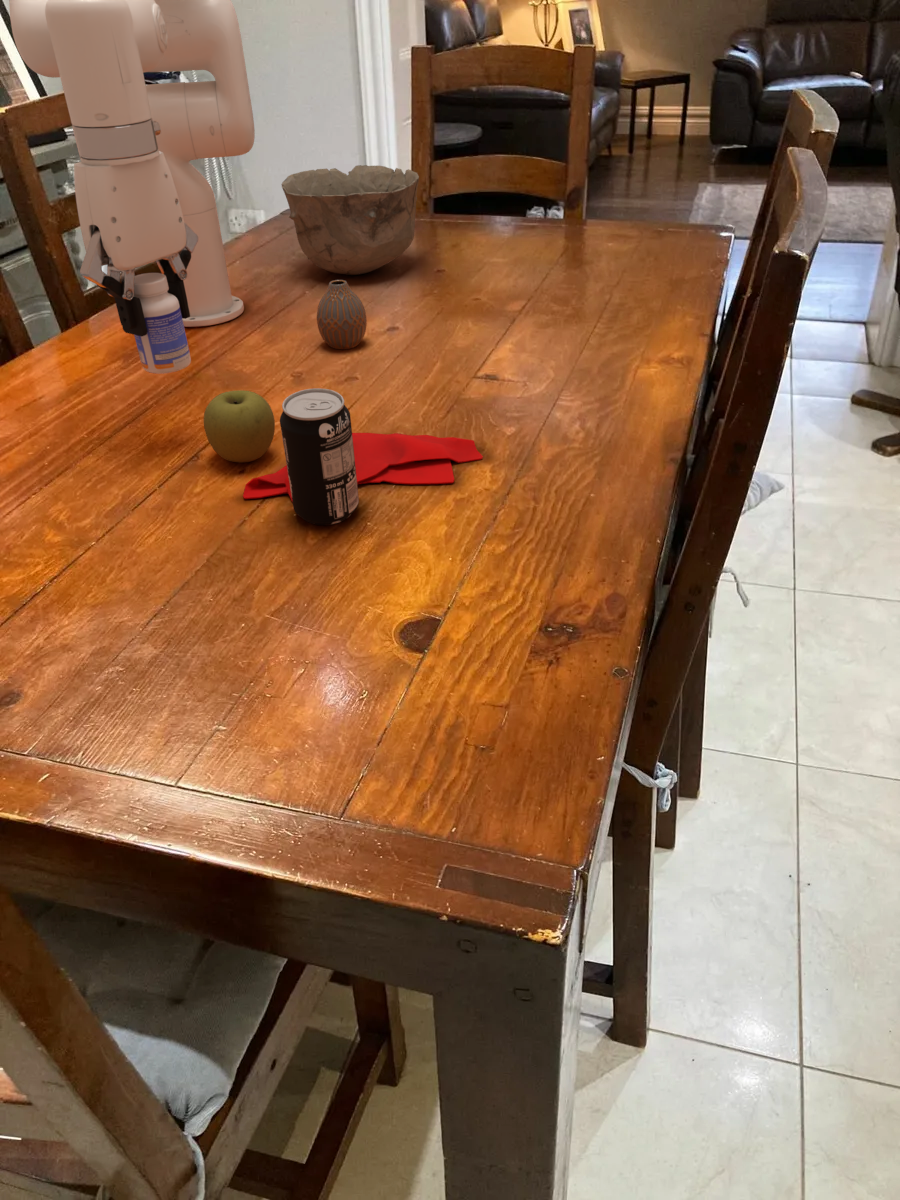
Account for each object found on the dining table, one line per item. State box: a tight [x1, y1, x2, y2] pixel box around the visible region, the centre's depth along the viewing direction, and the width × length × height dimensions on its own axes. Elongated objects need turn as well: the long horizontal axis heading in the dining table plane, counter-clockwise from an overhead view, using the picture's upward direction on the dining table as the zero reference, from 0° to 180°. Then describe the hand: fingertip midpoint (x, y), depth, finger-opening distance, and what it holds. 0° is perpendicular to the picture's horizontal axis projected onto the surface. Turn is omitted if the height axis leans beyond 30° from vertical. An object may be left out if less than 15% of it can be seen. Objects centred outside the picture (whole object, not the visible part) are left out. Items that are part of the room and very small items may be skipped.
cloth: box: [242, 432, 484, 504], centre depth 102 cm, size 26×14×2 cm, turn 99°
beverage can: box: [279, 388, 360, 526], centre depth 90 cm, size 7×7×12 cm
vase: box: [316, 279, 368, 350], centre depth 130 cm, size 7×7×9 cm
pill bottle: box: [133, 272, 192, 375], centre depth 102 cm, size 5×5×10 cm
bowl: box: [281, 164, 420, 276], centre depth 157 cm, size 22×22×15 cm
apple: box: [203, 389, 276, 463], centre depth 103 cm, size 8×8×7 cm
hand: (157, 323), depth 102 cm, fingers closed on pill bottle, 5 cm apart
